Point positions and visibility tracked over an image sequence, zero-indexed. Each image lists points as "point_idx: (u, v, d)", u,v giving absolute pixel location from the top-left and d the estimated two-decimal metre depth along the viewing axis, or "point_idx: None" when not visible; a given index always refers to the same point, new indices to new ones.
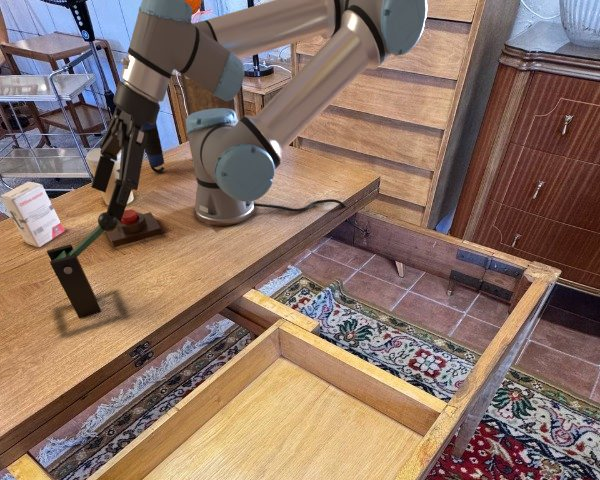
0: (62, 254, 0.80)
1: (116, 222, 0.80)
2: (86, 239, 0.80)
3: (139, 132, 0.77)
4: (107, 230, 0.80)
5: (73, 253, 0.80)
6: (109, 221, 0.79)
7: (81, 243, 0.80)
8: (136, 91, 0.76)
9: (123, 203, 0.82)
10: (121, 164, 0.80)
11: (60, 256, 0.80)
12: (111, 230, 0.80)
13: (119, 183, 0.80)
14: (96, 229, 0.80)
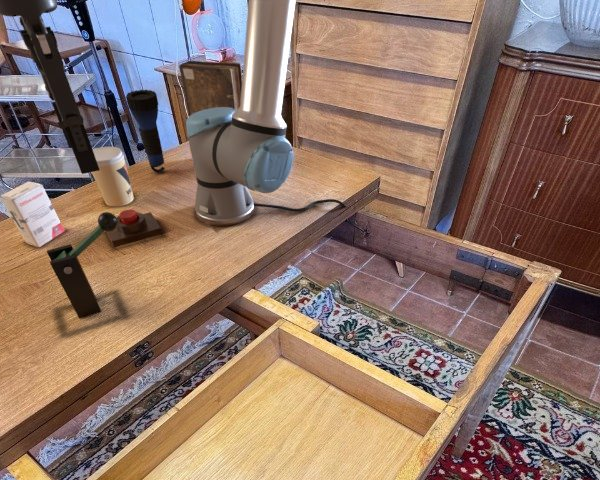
0: (62, 254, 0.80)
1: (116, 222, 0.80)
2: (86, 239, 0.80)
3: (39, 40, 0.55)
4: (107, 230, 0.80)
5: (73, 253, 0.80)
6: (109, 221, 0.79)
7: (81, 243, 0.80)
8: None
9: (85, 147, 0.65)
10: (53, 97, 0.61)
11: (60, 256, 0.80)
12: (111, 230, 0.80)
13: (64, 126, 0.62)
14: (96, 229, 0.80)
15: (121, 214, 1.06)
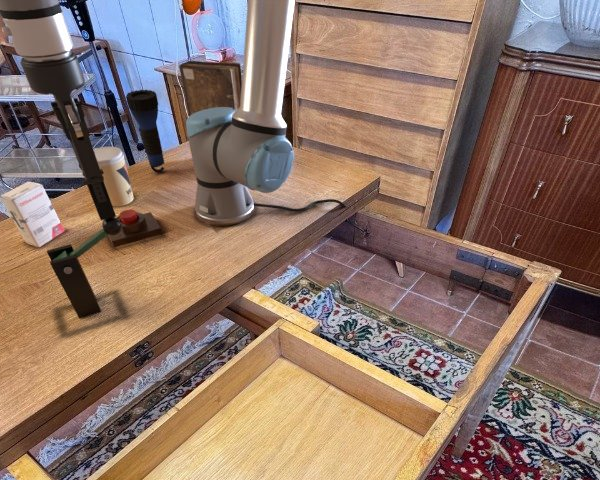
0: (63, 254, 0.80)
1: (120, 227, 0.81)
2: (89, 241, 0.81)
3: (75, 130, 0.63)
4: (111, 234, 0.81)
5: (74, 254, 0.81)
6: (114, 225, 0.80)
7: (83, 245, 0.81)
8: (38, 60, 0.59)
9: (104, 199, 0.76)
10: (79, 160, 0.70)
11: (61, 256, 0.80)
12: (115, 234, 0.81)
13: (87, 184, 0.73)
14: (100, 232, 0.81)
15: (121, 214, 1.06)
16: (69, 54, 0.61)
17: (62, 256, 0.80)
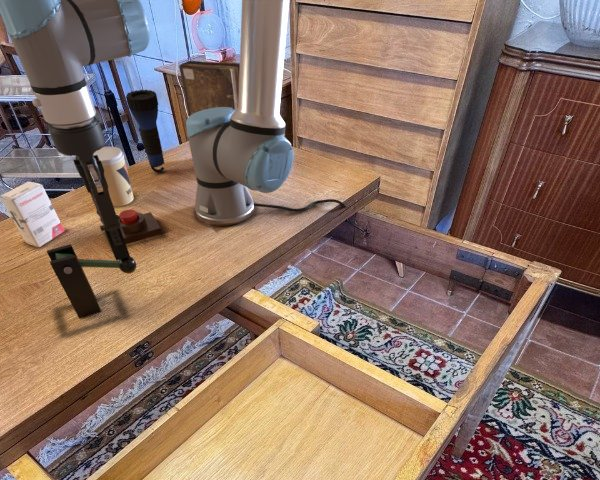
0: (69, 255, 0.81)
1: (134, 270, 0.88)
2: (100, 262, 0.84)
3: (97, 187, 0.70)
4: (123, 269, 0.86)
5: (80, 262, 0.82)
6: (132, 265, 0.86)
7: (93, 261, 0.84)
8: (64, 127, 0.66)
9: (120, 242, 0.82)
10: (98, 209, 0.77)
11: (66, 255, 0.81)
12: (126, 271, 0.87)
13: (104, 230, 0.79)
14: (114, 262, 0.86)
15: (121, 214, 1.06)
16: (92, 120, 0.67)
17: None
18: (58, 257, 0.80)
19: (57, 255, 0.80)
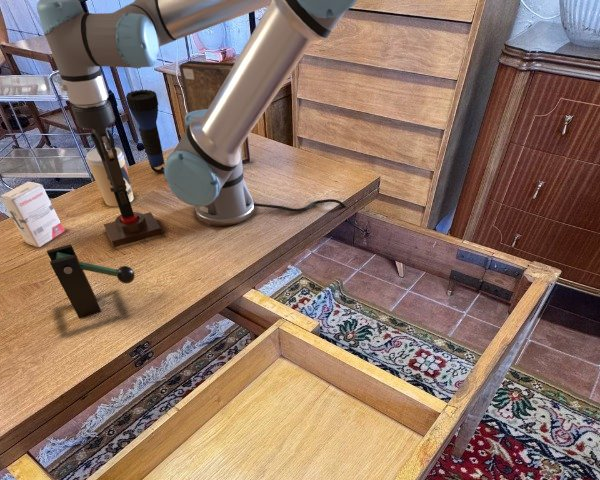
0: None
1: None
2: (100, 267, 0.85)
3: (109, 154, 0.90)
4: (121, 278, 0.87)
5: (80, 264, 0.82)
6: (131, 276, 0.88)
7: (93, 265, 0.84)
8: (85, 107, 0.86)
9: (126, 202, 1.02)
10: (109, 174, 0.97)
11: None
12: (123, 281, 0.88)
13: (114, 191, 1.00)
14: (113, 270, 0.87)
15: None
16: (105, 101, 0.88)
17: None
18: (60, 256, 0.80)
19: (59, 254, 0.80)
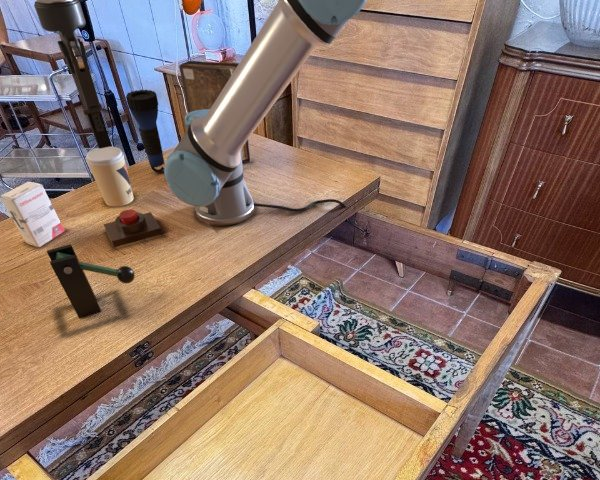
0: None
1: None
2: (100, 267, 0.85)
3: (78, 62, 0.78)
4: (121, 278, 0.87)
5: (80, 264, 0.82)
6: (131, 276, 0.88)
7: (93, 265, 0.84)
8: (48, 2, 0.74)
9: (102, 128, 0.90)
10: (81, 92, 0.85)
11: None
12: (123, 281, 0.88)
13: (87, 114, 0.88)
14: (113, 270, 0.87)
15: (121, 214, 1.06)
16: None
17: None
18: (60, 256, 0.80)
19: (59, 254, 0.80)
